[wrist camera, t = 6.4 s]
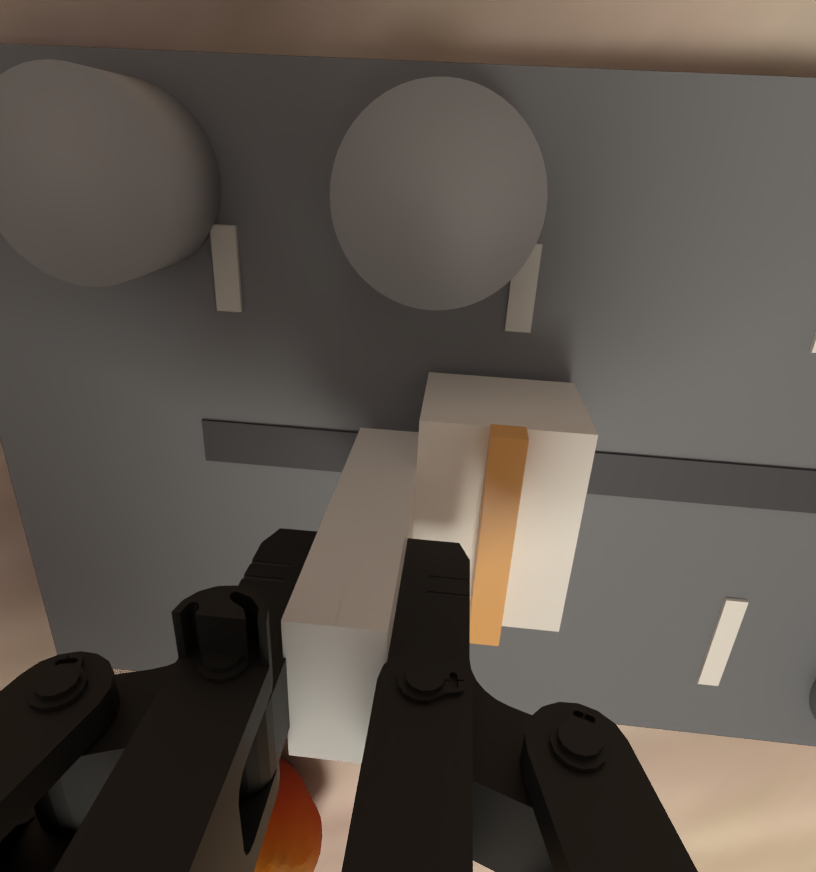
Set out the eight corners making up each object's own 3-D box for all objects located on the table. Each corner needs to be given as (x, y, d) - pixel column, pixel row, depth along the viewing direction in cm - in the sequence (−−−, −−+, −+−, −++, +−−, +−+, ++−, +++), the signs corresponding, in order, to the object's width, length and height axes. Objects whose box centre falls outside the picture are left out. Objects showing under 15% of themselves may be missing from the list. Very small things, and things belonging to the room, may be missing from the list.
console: (92, 621, 22) (11, 721, 18) (-35, 53, 15) (-222, 15, 11) (940, 711, 20) (1054, 845, 16) (1296, 111, 13) (1668, 90, 9)
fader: (417, 543, 17) (404, 636, 14) (428, 370, 15) (417, 430, 11) (544, 555, 17) (562, 652, 13) (574, 380, 14) (605, 446, 11)
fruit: (137, 686, 22) (146, 964, 16) (321, 687, 26) (375, 901, 21) (58, 794, 25) (43, 1058, 19) (235, 778, 30) (263, 984, 24)
